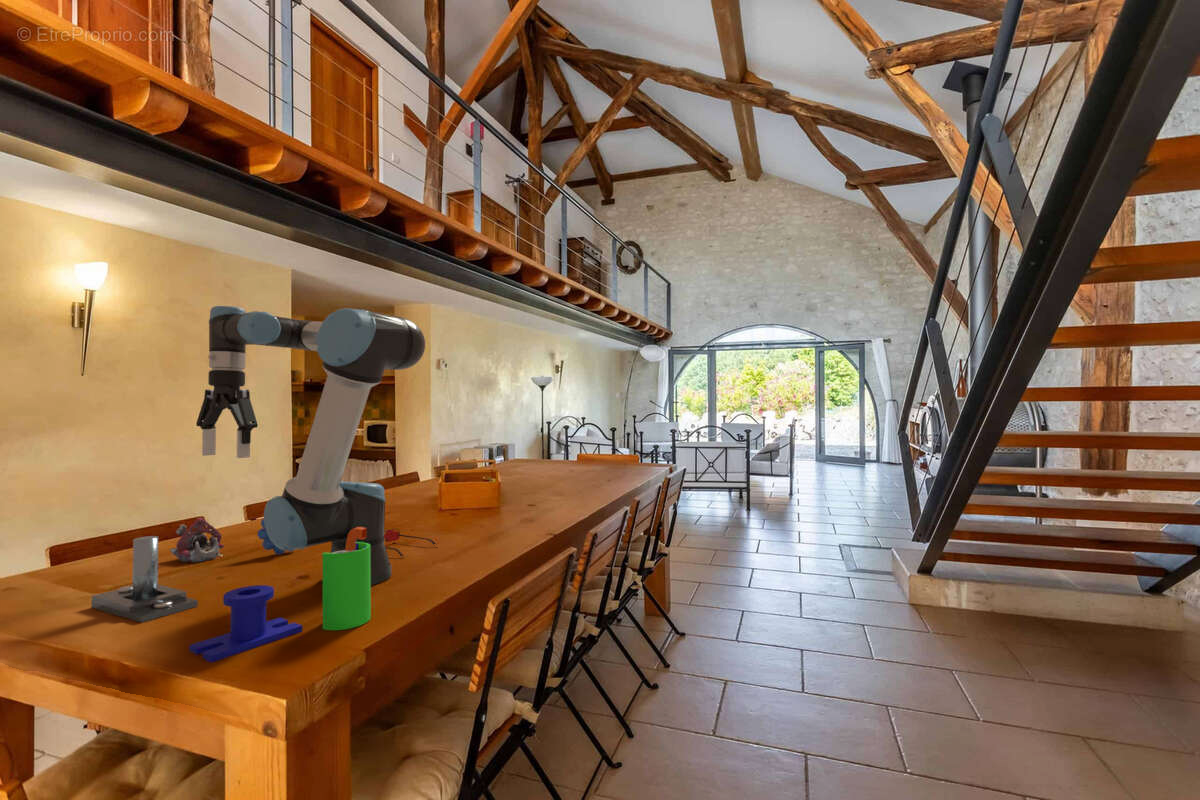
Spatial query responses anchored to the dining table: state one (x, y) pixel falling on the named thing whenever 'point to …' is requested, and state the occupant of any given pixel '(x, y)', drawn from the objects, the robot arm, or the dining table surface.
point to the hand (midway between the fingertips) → (225, 456)
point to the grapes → (268, 540)
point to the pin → (145, 568)
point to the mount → (246, 625)
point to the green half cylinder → (347, 584)
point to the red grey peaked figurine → (197, 542)
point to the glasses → (395, 535)
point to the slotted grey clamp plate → (143, 603)
